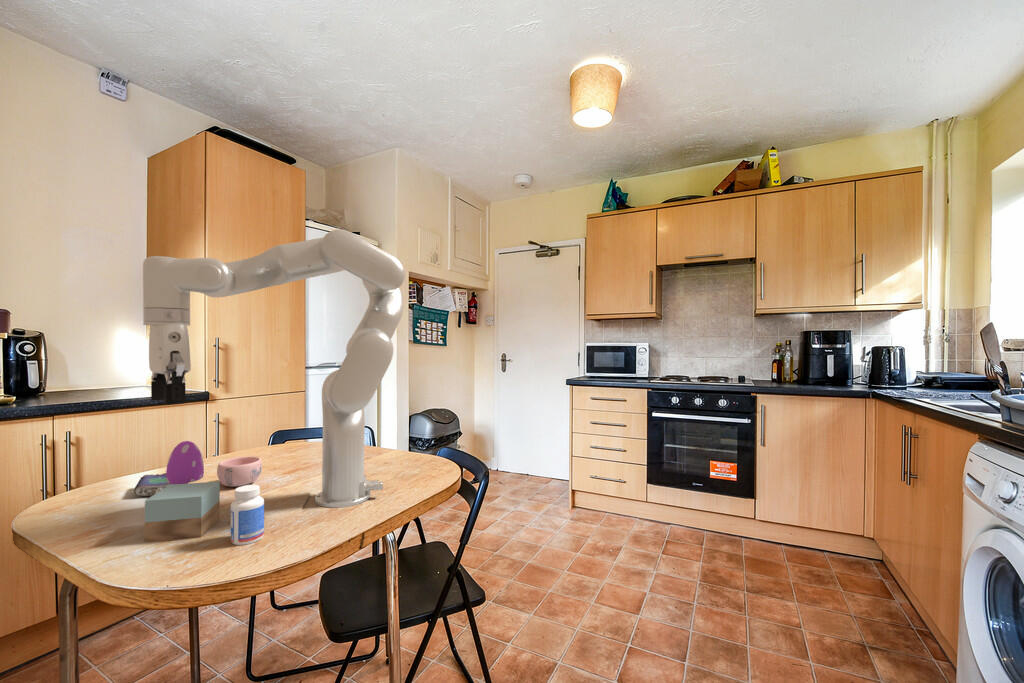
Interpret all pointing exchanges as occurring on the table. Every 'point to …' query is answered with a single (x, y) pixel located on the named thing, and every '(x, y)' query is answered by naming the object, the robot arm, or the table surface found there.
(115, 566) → the table surface
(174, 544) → the table surface
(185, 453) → the toy
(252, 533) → the pill bottle
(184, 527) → the tower base
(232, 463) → the pink bowl
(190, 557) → the table surface
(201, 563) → the table surface
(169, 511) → the tower top
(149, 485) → the flask
